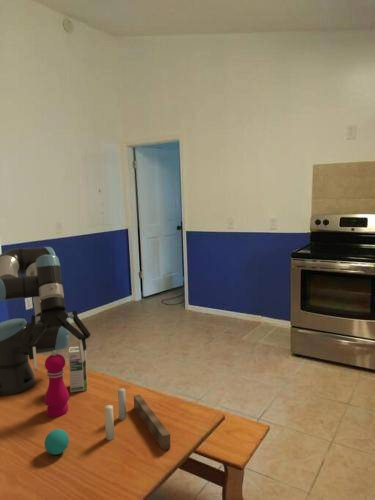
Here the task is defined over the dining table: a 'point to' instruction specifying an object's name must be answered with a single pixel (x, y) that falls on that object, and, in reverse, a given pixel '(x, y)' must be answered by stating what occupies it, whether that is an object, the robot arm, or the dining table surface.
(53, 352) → the pepper mill
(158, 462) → the dining table surface
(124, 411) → the grey pin
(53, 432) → the ball
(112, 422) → the ivory pin
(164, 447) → the back wall
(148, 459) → the dining table surface
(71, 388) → the syrup box
